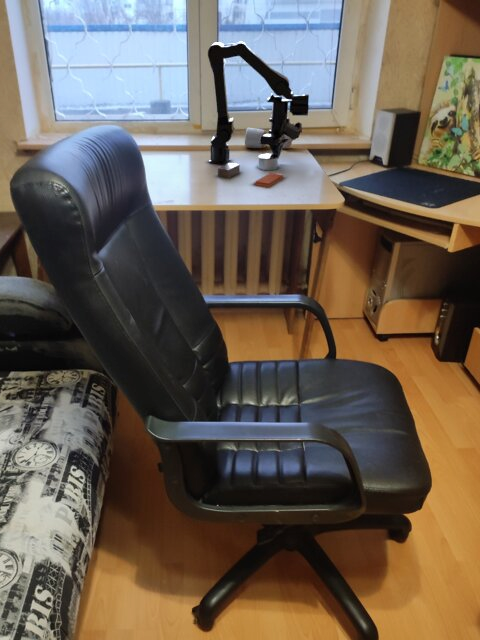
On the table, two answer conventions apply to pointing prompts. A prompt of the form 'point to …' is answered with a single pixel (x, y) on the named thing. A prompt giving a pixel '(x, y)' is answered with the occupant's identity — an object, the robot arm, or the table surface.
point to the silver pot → (268, 162)
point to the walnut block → (228, 170)
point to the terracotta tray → (268, 180)
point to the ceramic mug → (254, 138)
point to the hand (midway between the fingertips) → (276, 159)
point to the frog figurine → (288, 143)
